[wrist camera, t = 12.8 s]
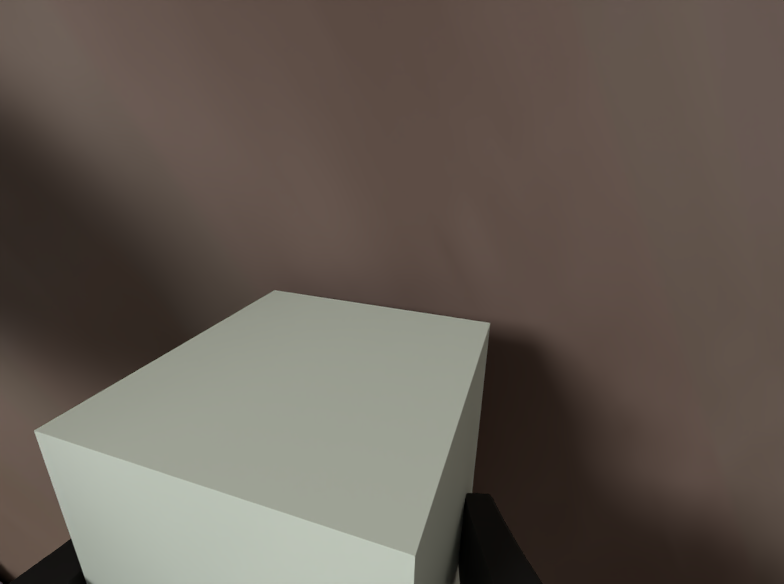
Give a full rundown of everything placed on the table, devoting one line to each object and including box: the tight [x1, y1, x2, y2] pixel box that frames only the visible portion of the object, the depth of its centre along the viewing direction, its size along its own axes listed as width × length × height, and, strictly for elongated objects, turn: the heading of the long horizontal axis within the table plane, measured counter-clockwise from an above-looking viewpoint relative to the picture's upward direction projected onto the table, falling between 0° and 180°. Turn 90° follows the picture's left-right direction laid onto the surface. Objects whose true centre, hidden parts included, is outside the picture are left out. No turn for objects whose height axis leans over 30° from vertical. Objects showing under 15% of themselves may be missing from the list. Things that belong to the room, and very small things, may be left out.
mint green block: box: [34, 290, 490, 584], centre depth 10 cm, size 10×6×6 cm, turn 179°
